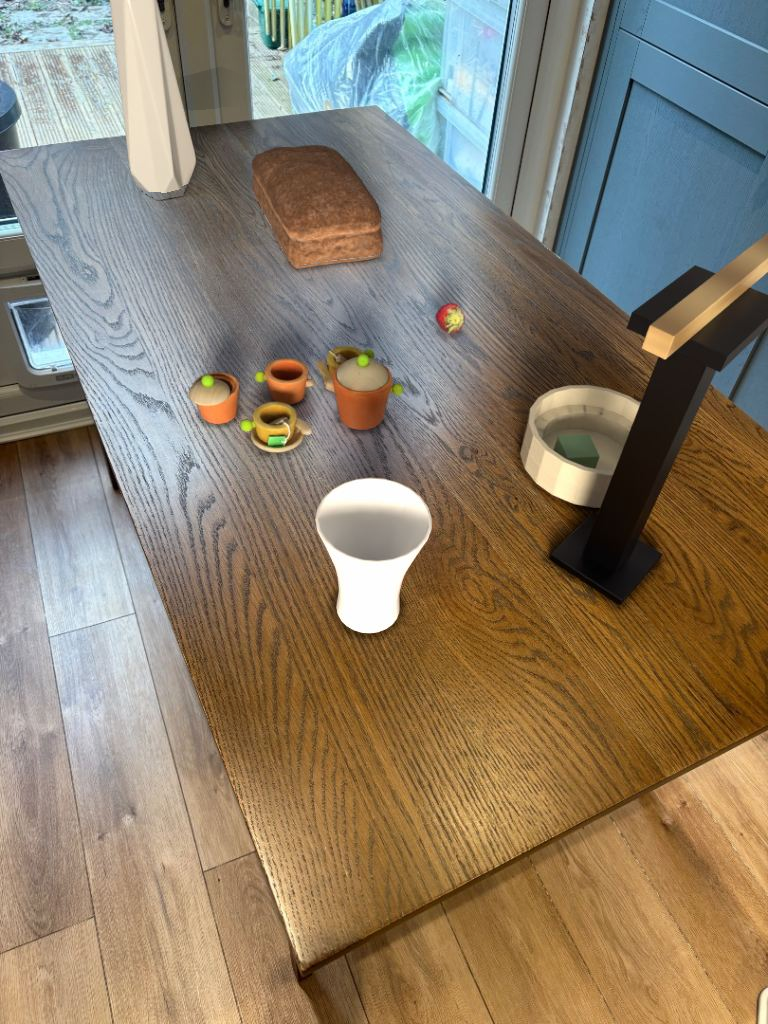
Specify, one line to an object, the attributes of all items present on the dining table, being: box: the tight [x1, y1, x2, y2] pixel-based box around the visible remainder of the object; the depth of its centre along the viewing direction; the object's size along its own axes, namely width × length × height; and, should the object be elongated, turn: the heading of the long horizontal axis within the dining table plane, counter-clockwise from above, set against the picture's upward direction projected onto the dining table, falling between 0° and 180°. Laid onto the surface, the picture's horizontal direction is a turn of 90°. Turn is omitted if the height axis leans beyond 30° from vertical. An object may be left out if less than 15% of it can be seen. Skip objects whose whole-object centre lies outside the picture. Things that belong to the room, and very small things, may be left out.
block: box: [554, 434, 600, 469], centre depth 91 cm, size 4×4×4 cm
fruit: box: [435, 302, 466, 335], centre depth 111 cm, size 4×6×5 cm
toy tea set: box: [188, 345, 404, 453], centre depth 94 cm, size 26×16×10 cm, turn 116°
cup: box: [314, 477, 433, 634], centre depth 72 cm, size 10×10×14 cm
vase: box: [109, 0, 197, 193], centre depth 127 cm, size 12×12×33 cm
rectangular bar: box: [641, 232, 768, 359], centre depth 60 cm, size 24×2×2 cm, turn 138°
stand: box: [548, 264, 768, 606], centre depth 71 cm, size 11×9×32 cm
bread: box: [251, 144, 384, 269], centre depth 129 cm, size 17×29×11 cm, turn 20°
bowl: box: [519, 384, 641, 509], centre depth 92 cm, size 16×16×6 cm
